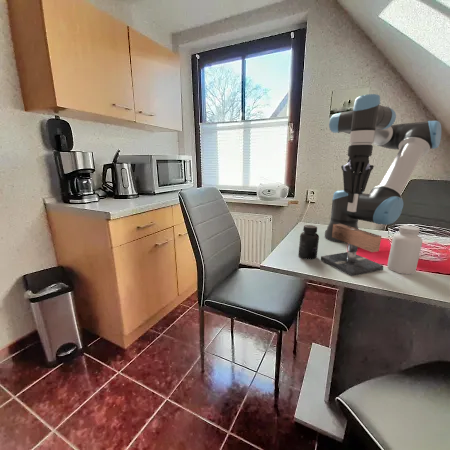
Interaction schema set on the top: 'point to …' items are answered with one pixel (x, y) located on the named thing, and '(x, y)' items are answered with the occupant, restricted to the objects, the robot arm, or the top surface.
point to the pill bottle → (405, 250)
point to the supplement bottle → (308, 242)
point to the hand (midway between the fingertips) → (351, 211)
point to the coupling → (356, 238)
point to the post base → (351, 263)
